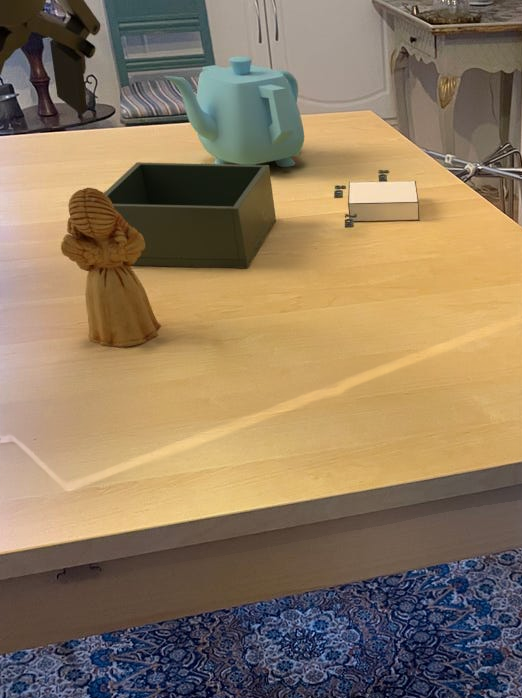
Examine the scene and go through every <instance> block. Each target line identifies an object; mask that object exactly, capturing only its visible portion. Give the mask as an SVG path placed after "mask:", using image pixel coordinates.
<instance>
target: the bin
mask: <svg viewBox="0 0 522 698" xmlns="http://www.w3.org/2000/svg"><path fill="white" fill-rule="evenodd" d="M103 193H104V194H105V195H107V196H108V198H109V199H110V200H111V202H112V204H113V206H114V208H115V210H116V211H117V212H119V213H120V215H121V216H122V217H123V219H124V220H125V221H126V222H127V223H128V225H130V226H131V227H134V228H135V229H136V230H137V231H138V232H139V233H141V235H142V236H143V238H144V241H145V249H144V250H143V251H141V256H140V257H138V258H137V260H136V262H135V263H134V264H133V265H131V266H130V267H132V266H133V267H135V266H137V267H143V266H144V267H175V268H176V267H180V268H216V269H217V268H220V269H221V268H222V269H223V268H224V269H248V268H249V266H250V265H251V263H252V262H253V260H254V258H255V256H256V254H257V253H258V251H259V249H260V248H261V246H262V245H263V244H264V241H265V239H266V238H267V236H268V235H269V233H270V231H271V229H272V228H273V226H274V225H275V223H276V221H277V217H276V208H275V200H274V194H273V187H272V177H271V171H270V165H269V164H256V165H239V164H233V163H232V164H215V163H183V162H182V163H179V162H178V163H177V162H136V163H134V164H133V165H132V166H131V167H130V168H129V169H128V170H126V172H125V173H124V174H123V175H121V177H119V178H118V179H117V180H116V181H114V183H113V184H111V186H110V187H109V188H108V189H107V190H106V191H104V192H103Z"/></svg>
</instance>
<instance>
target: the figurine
mask: <svg viewBox="0 0 522 698" xmlns="http://www.w3.org/2000/svg"><path fill="white" fill-rule="evenodd" d="M68 214H69V217H68V219H67V225H66V232H67V234H66V235H64V236H63V238H62V241H61V244H60V250H61V253H62V255H63V256H64V257H67V258H68V259H69V260H70V261H72V262H75V263H76V265H77V266H78V268H79V269H81V270H83V271H84V272H85V271H86V272H88V273H87V277H86V283H85V307H86V314H87V324H88V340H89V342H92V343H99V344H100V345H101V346H103V347H105V346H106V347H118V348H126V347H127V348H128V347H134V346H138V345H142V344H145V343H146V342H148V341H150V340H151V339H153V338H155V337H157V336H158V330H159V329H160V328H161V324H160V323H159V322H158V320H157V318H156V316H155V314H154V311H153V308H152V305H151V303H150V300H149V297H148V295H147V292H146V289H145V287H144V285H143V284H142V282H141V280H140V278H139V277H138V276H137V273H135V272H134V270H133V269H132V268H131V267H132V266H131V265H133V264H134V263H135V262H136V260H137V258H138V257H140V256H141V251H143V250H144V249H145V241H144V238H143V236H142V235H141V233H139V232H138V231H137V230H136V229H135V228H134V227H131V226H130V225H128V223H127V222H126V221H125V220H124V219H123V217H122V216H121V215H120V213H119V212H117V211H116V210H115V208H114V206H113V204H112V202H111V200H110V199H109V198H108V196H107V195H105V194H104V192H103V191H101V190H99V189H98V188H94V187H84V188H82V189H78V190H77V191H75V192H74V193H73V194H72V195H71V197H70V198H69V200H68Z"/></svg>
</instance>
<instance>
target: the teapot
mask: <svg viewBox="0 0 522 698" xmlns="http://www.w3.org/2000/svg"><path fill="white" fill-rule="evenodd" d="M228 62H229V65H230V66H224V67H220V66H218V65H217V64H214V65H207V66H202V71H201V72H200V73H199V76H198V82H197V87H196V94H195V92H194V90H193V87H192V85H191V84H190V82H188V80H187V79H185V78H184V77H182V76H181V77H180V76H173V75H163V77H164V78H165V79H167V80H168V81H170V82H171V83H173V84H174V86H175V87H176V88H177V89H178V91H179V93H180V95H181V99H182V101H183V105H184V109H185V113H186V116H187V119H188V122H189V124H190V125H191V127H192V128H193V130H194V131H195V132H196V134H197V137H198V139H199V141H200V143H201V145H202V147H203V148H204V150H205V151H206V152H207V153H208V154H209V155H211V156H212V157H214V158H215V161H214V164H232V165H233V164H235V165H260V164H264V163H269V162H275V164H276V165H277V167H282V168H284V167H285V168H286V167H287V168H288V167H292V166H295V165H296V162H295V160H294V159H293V158H292V157H295V156H297V155H299V154H301V151H302V149H303V146H304V142H305V130H304V125H303V119H302V116H301V113H300V110H299V106H298V104H297V102H298V98H299V97H298V96H299V85H298V81H297V79H296V77H295V76H294V75H293V73H291V72H289V71H288V70H285V69H279V68H278V69H273V68H269V67H265V66H260V65H255V64H252V58H251V57H249V56H243V55H242V56H233V57H230V58H229V59H228Z"/></svg>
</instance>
